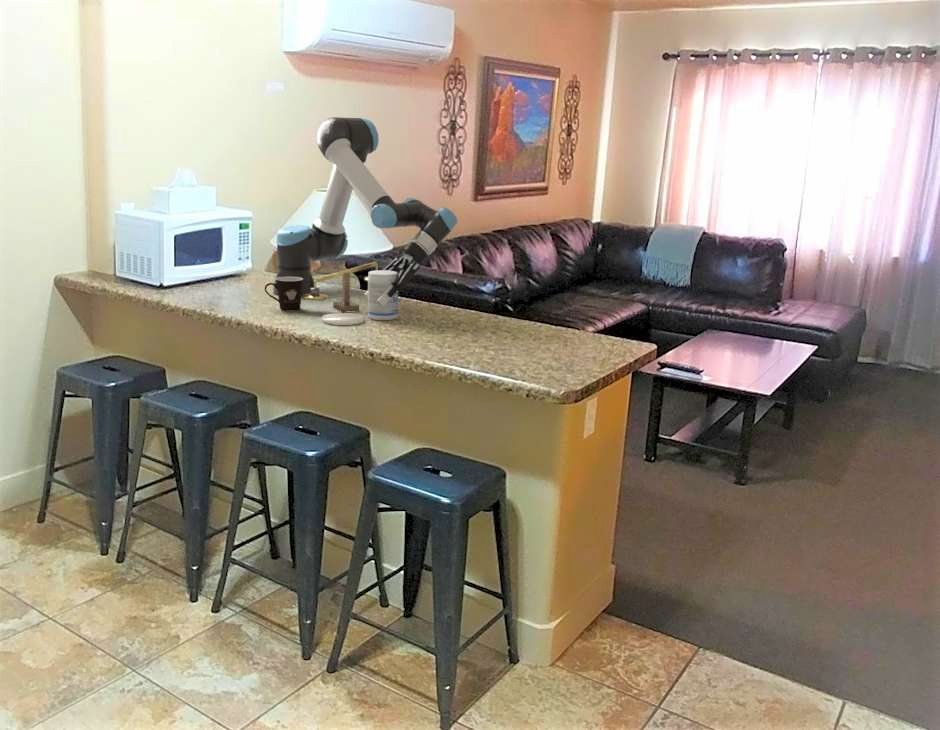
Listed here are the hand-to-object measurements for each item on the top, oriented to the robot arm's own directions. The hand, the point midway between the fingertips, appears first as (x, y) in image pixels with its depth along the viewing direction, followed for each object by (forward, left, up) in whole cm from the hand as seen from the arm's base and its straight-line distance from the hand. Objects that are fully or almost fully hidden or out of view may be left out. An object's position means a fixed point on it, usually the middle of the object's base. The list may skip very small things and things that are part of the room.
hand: (373, 300), depth 282 cm
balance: (-16, -3, -6) cm, 17 cm away
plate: (0, -10, -6) cm, 12 cm away
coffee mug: (-24, -21, -6) cm, 32 cm away
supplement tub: (0, +3, -6) cm, 7 cm away
